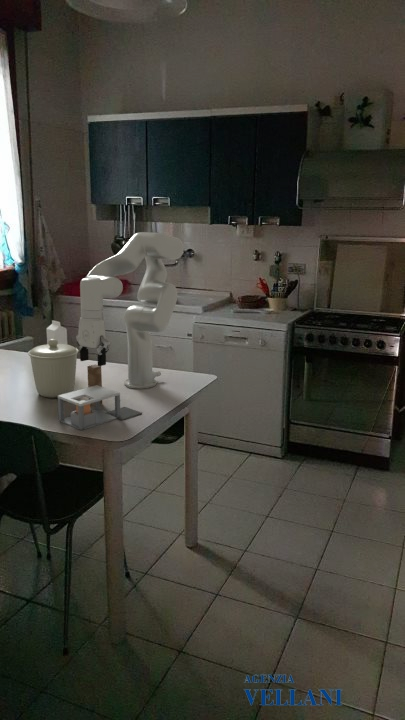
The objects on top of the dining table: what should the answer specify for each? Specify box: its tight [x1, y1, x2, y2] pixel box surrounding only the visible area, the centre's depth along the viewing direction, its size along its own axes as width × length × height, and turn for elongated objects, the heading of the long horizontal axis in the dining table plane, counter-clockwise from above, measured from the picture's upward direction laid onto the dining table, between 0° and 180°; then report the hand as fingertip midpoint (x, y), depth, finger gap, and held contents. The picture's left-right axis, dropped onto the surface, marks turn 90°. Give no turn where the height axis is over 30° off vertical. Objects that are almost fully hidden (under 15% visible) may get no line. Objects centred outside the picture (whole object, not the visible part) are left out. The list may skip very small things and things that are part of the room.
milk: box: [46, 319, 68, 345], centre depth 245 cm, size 6×6×22 cm
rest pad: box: [107, 406, 143, 421], centre depth 199 cm, size 9×9×1 cm
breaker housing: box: [57, 385, 121, 431], centre depth 192 cm, size 16×12×9 cm
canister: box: [27, 339, 80, 399], centre depth 217 cm, size 18×18×21 cm
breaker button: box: [75, 399, 91, 415], centre depth 188 cm, size 3×3×4 cm
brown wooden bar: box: [86, 364, 103, 407], centre depth 207 cm, size 3×3×14 cm
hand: (93, 362), depth 204 cm, fingers open, 9 cm apart
